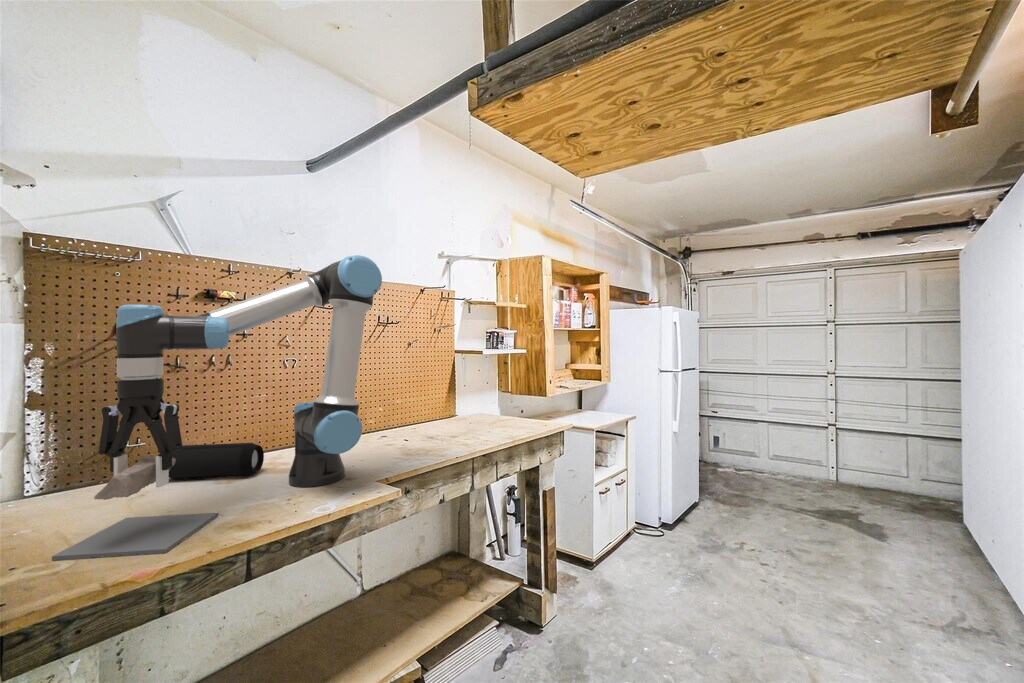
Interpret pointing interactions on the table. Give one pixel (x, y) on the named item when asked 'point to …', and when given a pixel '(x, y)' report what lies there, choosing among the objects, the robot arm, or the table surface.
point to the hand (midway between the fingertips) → (141, 486)
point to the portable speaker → (216, 460)
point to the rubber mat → (138, 536)
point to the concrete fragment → (131, 479)
